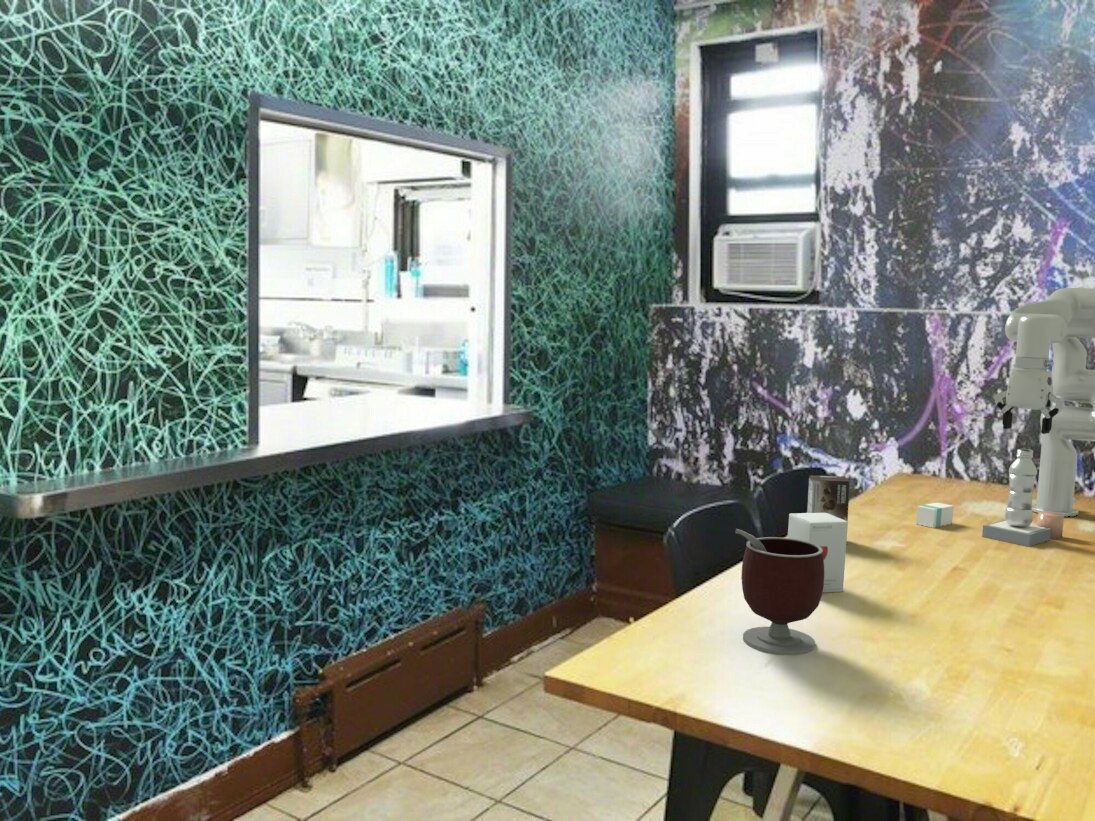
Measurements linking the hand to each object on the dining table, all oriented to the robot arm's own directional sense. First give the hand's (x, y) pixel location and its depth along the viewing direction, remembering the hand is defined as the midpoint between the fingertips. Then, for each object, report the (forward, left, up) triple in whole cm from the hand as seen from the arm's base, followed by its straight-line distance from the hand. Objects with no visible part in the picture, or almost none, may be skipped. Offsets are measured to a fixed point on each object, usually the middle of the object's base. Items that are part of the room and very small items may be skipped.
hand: (1026, 430), depth 249 cm
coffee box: (+46, -26, -28) cm, 60 cm away
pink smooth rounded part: (-9, +4, -28) cm, 30 cm away
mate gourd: (+117, +12, -28) cm, 121 cm away
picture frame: (+1, 0, -28) cm, 28 cm away
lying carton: (+4, -21, -28) cm, 35 cm away
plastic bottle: (0, 0, -25) cm, 25 cm away
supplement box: (+83, -4, -28) cm, 87 cm away
